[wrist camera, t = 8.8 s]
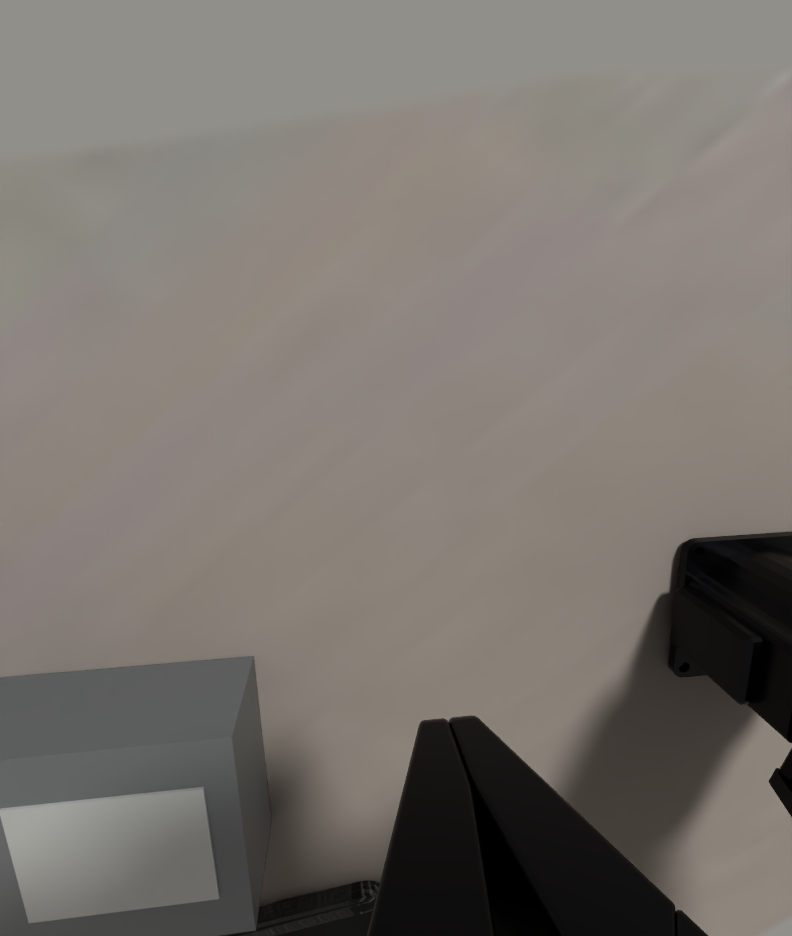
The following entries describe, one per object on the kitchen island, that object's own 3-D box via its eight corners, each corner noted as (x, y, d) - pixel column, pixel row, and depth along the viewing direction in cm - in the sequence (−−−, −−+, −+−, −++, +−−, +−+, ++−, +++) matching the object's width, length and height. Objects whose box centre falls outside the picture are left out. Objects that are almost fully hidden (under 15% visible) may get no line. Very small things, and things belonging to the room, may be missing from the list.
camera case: (253, 656, 21) (231, 739, 17) (272, 831, 24) (256, 945, 19) (-32, 680, 20) (-136, 775, 16) (16, 861, 23) (-64, 989, 18)
